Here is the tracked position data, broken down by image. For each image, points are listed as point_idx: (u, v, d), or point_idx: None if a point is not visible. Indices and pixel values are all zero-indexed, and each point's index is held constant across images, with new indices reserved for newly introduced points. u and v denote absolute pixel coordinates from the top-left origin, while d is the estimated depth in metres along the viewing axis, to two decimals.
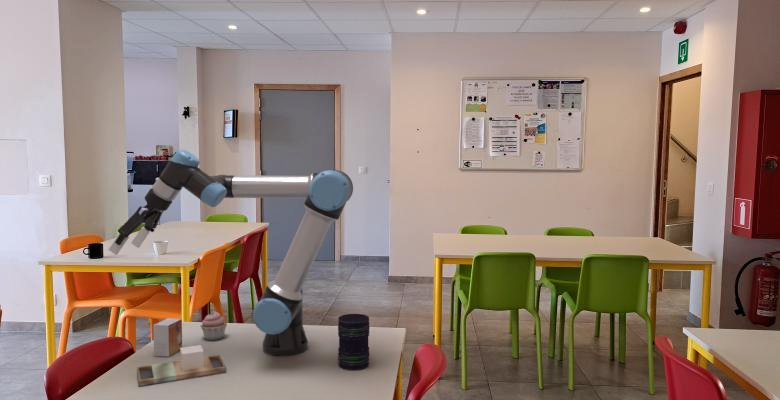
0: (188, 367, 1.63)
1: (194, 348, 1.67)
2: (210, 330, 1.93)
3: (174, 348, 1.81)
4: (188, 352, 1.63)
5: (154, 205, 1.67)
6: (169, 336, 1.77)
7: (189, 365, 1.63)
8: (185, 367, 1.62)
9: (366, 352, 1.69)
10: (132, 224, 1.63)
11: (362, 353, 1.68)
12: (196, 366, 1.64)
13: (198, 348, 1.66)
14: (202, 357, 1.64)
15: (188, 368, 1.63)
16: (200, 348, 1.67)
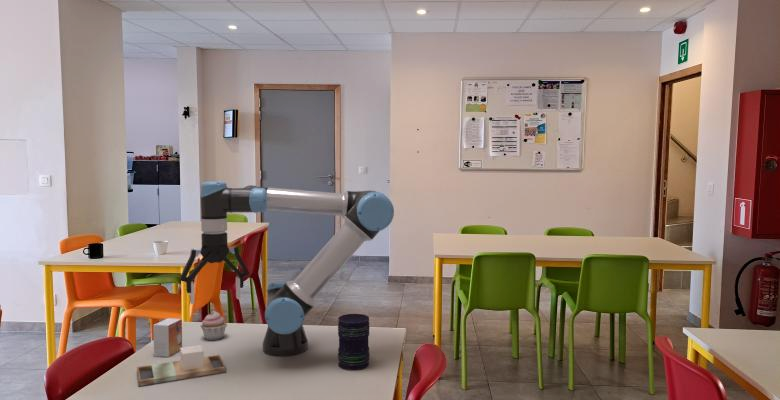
0: (188, 367, 1.63)
1: (194, 348, 1.67)
2: (210, 330, 1.93)
3: (174, 348, 1.81)
4: (188, 352, 1.63)
5: (203, 243, 1.64)
6: (169, 336, 1.77)
7: (189, 365, 1.63)
8: (185, 367, 1.62)
9: (366, 352, 1.69)
10: (185, 267, 1.63)
11: (362, 353, 1.68)
12: (196, 366, 1.64)
13: (198, 348, 1.66)
14: (202, 357, 1.64)
15: (188, 368, 1.63)
16: (200, 348, 1.67)
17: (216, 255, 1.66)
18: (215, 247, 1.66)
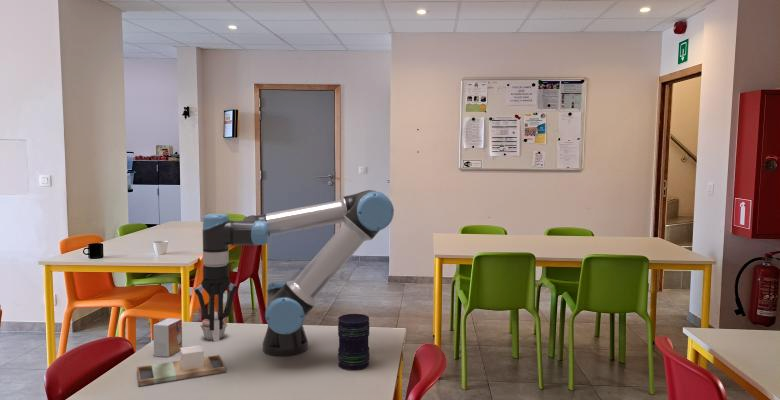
0: (188, 367, 1.63)
1: (194, 348, 1.67)
2: (210, 330, 1.93)
3: (174, 348, 1.81)
4: (188, 352, 1.63)
5: (204, 276, 1.65)
6: (169, 336, 1.77)
7: (189, 365, 1.63)
8: (185, 367, 1.62)
9: (366, 352, 1.69)
10: (201, 306, 1.66)
11: (362, 353, 1.68)
12: (196, 366, 1.64)
13: (198, 348, 1.66)
14: (202, 357, 1.64)
15: (188, 368, 1.63)
16: (200, 348, 1.67)
17: (217, 287, 1.67)
18: (216, 279, 1.67)
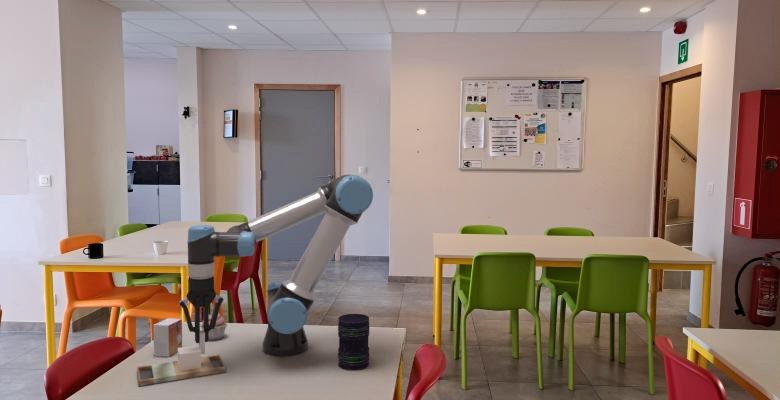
0: (185, 367, 1.62)
1: (191, 348, 1.66)
2: (210, 330, 1.93)
3: (174, 348, 1.81)
4: (185, 352, 1.63)
5: (189, 288, 1.63)
6: (169, 336, 1.77)
7: (186, 366, 1.62)
8: (182, 367, 1.62)
9: (366, 352, 1.69)
10: (186, 319, 1.64)
11: (362, 353, 1.68)
12: (193, 366, 1.63)
13: (195, 349, 1.66)
14: (199, 357, 1.64)
15: (185, 368, 1.62)
16: (197, 348, 1.66)
17: (203, 300, 1.65)
18: (202, 292, 1.65)
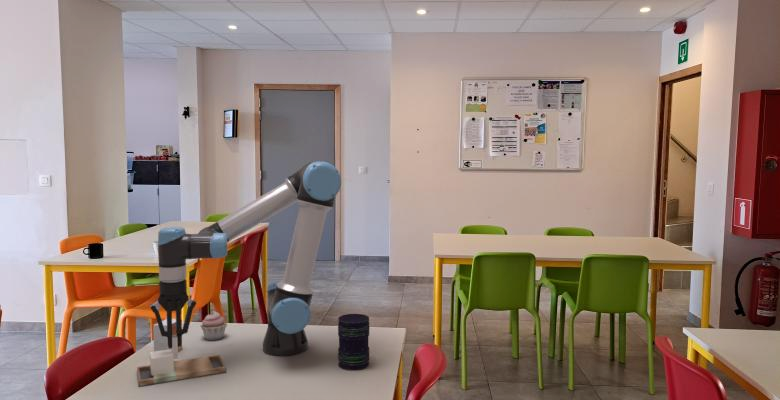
0: (157, 372, 1.59)
1: (164, 352, 1.63)
2: (210, 330, 1.93)
3: None
4: (157, 357, 1.59)
5: (160, 292, 1.60)
6: None
7: (158, 370, 1.59)
8: (154, 372, 1.58)
9: (366, 352, 1.69)
10: None
11: (362, 353, 1.68)
12: (165, 371, 1.60)
13: (168, 353, 1.63)
14: (172, 362, 1.61)
15: (157, 373, 1.59)
16: (170, 352, 1.63)
17: (174, 303, 1.62)
18: (173, 295, 1.61)
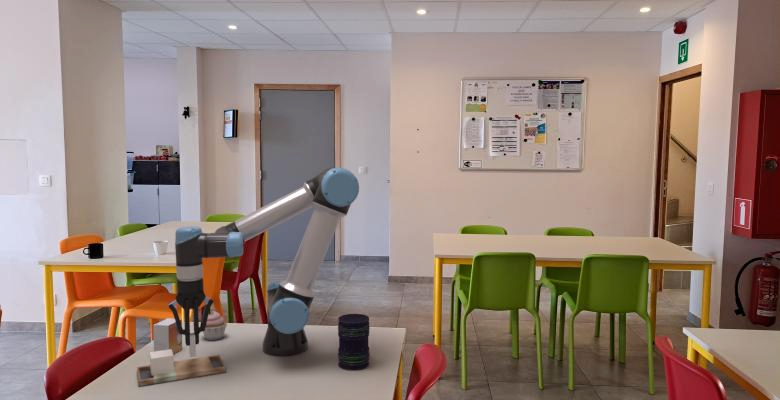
0: (157, 372, 1.59)
1: (164, 352, 1.63)
2: (210, 330, 1.93)
3: (174, 348, 1.81)
4: (157, 357, 1.59)
5: (178, 290, 1.62)
6: (169, 336, 1.77)
7: (158, 370, 1.59)
8: (154, 372, 1.58)
9: (366, 352, 1.69)
10: None
11: (362, 353, 1.68)
12: (165, 371, 1.60)
13: (168, 353, 1.63)
14: (172, 362, 1.61)
15: (157, 373, 1.59)
16: (170, 352, 1.63)
17: (192, 302, 1.64)
18: (191, 294, 1.64)
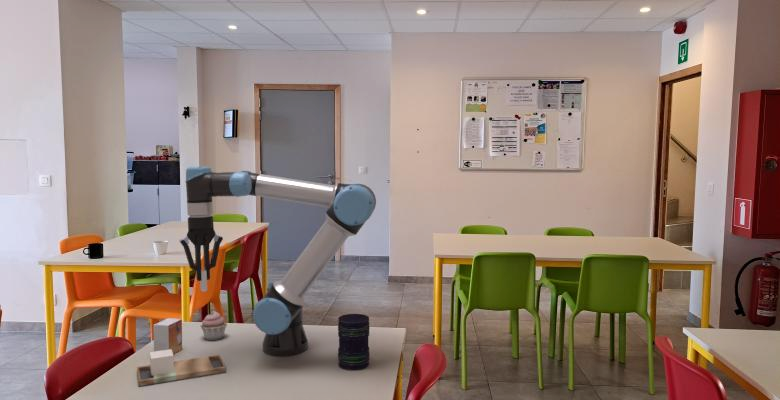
0: (157, 372, 1.59)
1: (164, 352, 1.63)
2: (210, 330, 1.93)
3: (174, 348, 1.81)
4: (157, 357, 1.59)
5: (189, 227, 1.68)
6: (169, 336, 1.77)
7: (158, 370, 1.59)
8: (154, 372, 1.58)
9: (366, 352, 1.69)
10: (187, 257, 1.69)
11: (362, 353, 1.68)
12: (165, 371, 1.60)
13: (168, 353, 1.63)
14: (172, 362, 1.61)
15: (157, 373, 1.59)
16: (170, 352, 1.63)
17: (203, 238, 1.70)
18: (202, 230, 1.70)
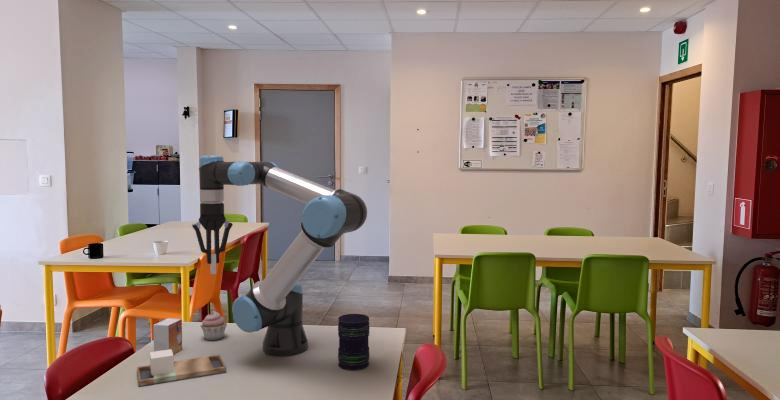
0: (157, 372, 1.59)
1: (164, 352, 1.63)
2: (210, 330, 1.93)
3: (174, 348, 1.81)
4: (157, 357, 1.59)
5: (201, 212, 1.78)
6: (169, 336, 1.77)
7: (158, 370, 1.59)
8: (154, 372, 1.58)
9: (366, 352, 1.69)
10: (198, 241, 1.78)
11: (362, 353, 1.68)
12: (165, 371, 1.60)
13: (168, 353, 1.63)
14: (172, 362, 1.61)
15: (157, 373, 1.59)
16: (170, 352, 1.63)
17: (213, 223, 1.80)
18: (213, 216, 1.79)
